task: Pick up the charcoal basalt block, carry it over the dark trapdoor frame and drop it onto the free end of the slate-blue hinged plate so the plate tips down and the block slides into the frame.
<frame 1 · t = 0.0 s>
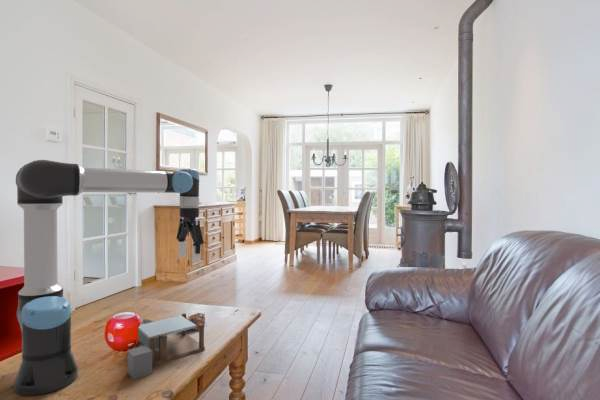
hand: (189, 259, 146), 28 cm above the table, fingers open, 13 cm apart
mineral specimen: (192, 328, 147), on the table
block: (139, 373, 110), on the table
trapdoor: (166, 331, 125), point 7 cm above the table, hinge at 0.0°
frame: (169, 349, 126), on the table
stone: (154, 337, 138), on the table
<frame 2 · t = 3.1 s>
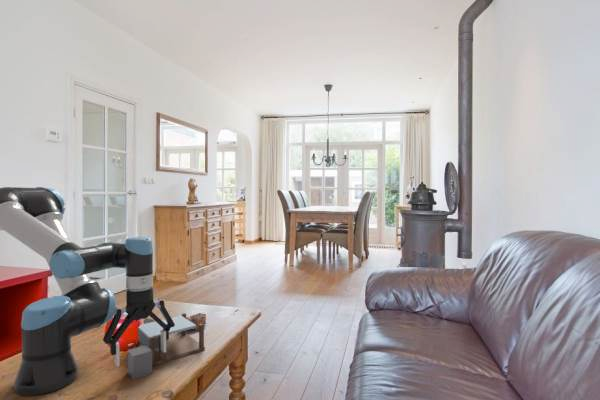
hand: (141, 357, 110), 5 cm above the table, fingers open, 13 cm apart
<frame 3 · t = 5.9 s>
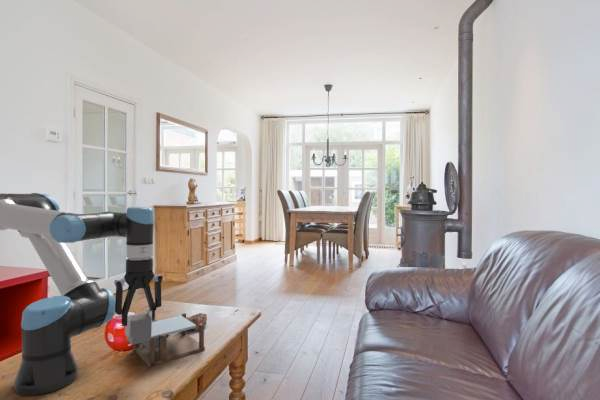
hand: (138, 333, 110), 12 cm above the table, fingers closed on block, 5 cm apart
block: (138, 339, 110), point 10 cm above the table, touching gripper
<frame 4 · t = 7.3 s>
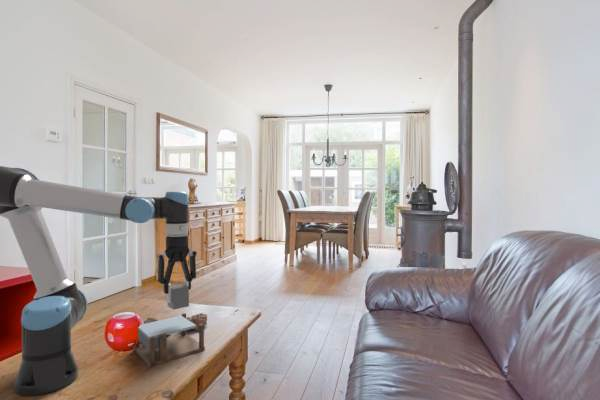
hand: (177, 300, 127), 17 cm above the table, fingers closed on block, 5 cm apart
block: (178, 306, 127), point 15 cm above the table, touching gripper
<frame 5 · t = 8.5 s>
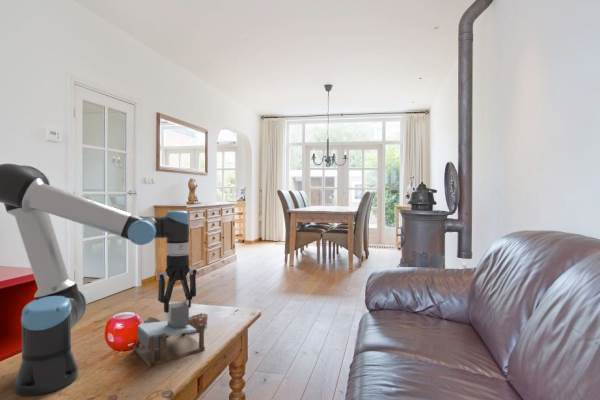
hand: (177, 319, 128), 10 cm above the table, fingers closed on block, 5 cm apart
block: (178, 324, 128), point 8 cm above the table, touching gripper, trapdoor
trapdoor: (165, 333, 125), point 6 cm above the table, hinge at -6.9°, touching block
when the fingers open (10 cm above the table, at t = 8.8 s): block drops 4 cm and tips over, resting on trapdoor.
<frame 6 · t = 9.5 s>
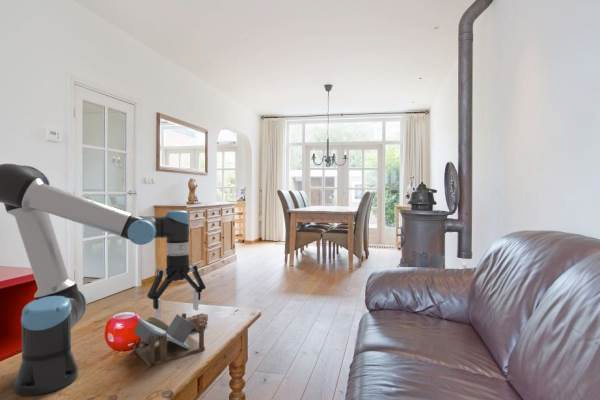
hand: (177, 313, 128), 12 cm above the table, fingers open, 13 cm apart
block: (174, 337, 127), point 4 cm above the table, tilted 37°, touching trapdoor
trapdoor: (161, 338, 124), point 5 cm above the table, hinge at -36.7°, touching block
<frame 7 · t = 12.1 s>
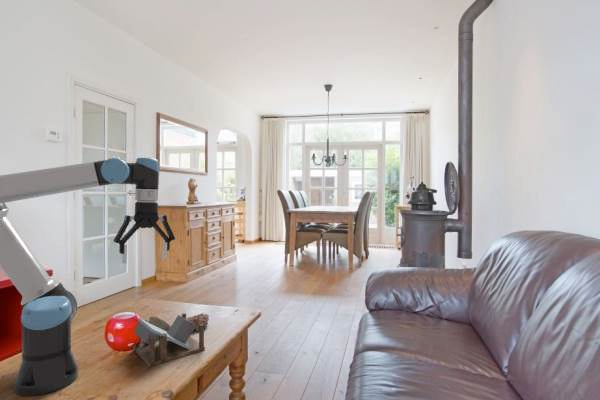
hand: (145, 261, 128), 31 cm above the table, fingers open, 13 cm apart
trapdoor: (161, 338, 124), point 5 cm above the table, hinge at -36.8°, touching block, frame
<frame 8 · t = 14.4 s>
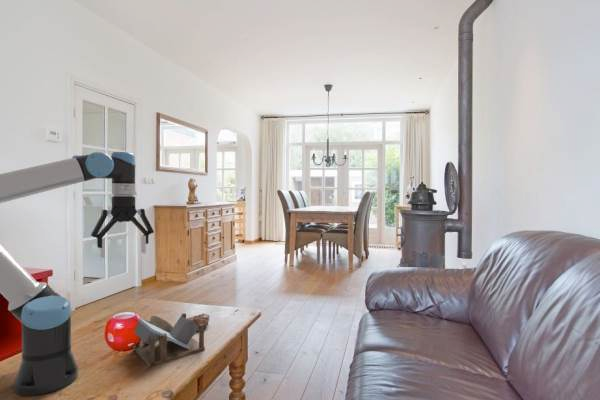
hand: (123, 255, 129), 33 cm above the table, fingers open, 13 cm apart
at the end: block point 3.2 cm above the table; block inside the target area (2.2 cm from its centre), point 3.2 cm above the table; the gripper is holding nothing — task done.
